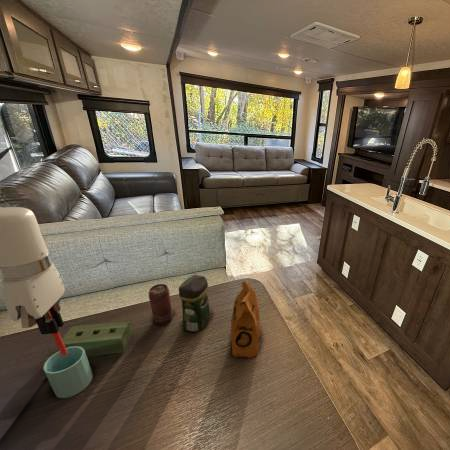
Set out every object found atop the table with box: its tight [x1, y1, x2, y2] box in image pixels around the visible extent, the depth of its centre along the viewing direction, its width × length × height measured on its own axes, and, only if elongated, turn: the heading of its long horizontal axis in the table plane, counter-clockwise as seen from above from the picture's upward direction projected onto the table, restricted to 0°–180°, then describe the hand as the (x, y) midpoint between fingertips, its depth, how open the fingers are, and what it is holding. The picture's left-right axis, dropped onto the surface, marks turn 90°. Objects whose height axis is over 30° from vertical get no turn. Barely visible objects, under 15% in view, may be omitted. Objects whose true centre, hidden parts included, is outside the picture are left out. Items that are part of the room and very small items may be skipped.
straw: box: [48, 310, 68, 356], centre depth 60 cm, size 1×1×14 cm
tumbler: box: [42, 346, 94, 399], centre depth 65 cm, size 8×8×10 cm
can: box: [148, 283, 174, 326], centre depth 87 cm, size 6×6×14 cm
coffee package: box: [230, 280, 262, 359], centre depth 80 cm, size 10×12×22 cm
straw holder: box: [62, 320, 134, 358], centre depth 77 cm, size 7×16×6 cm, turn 103°
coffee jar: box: [178, 274, 212, 332], centre depth 87 cm, size 10×8×19 cm
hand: (53, 329), depth 60 cm, fingers closed on straw, 1 cm apart
